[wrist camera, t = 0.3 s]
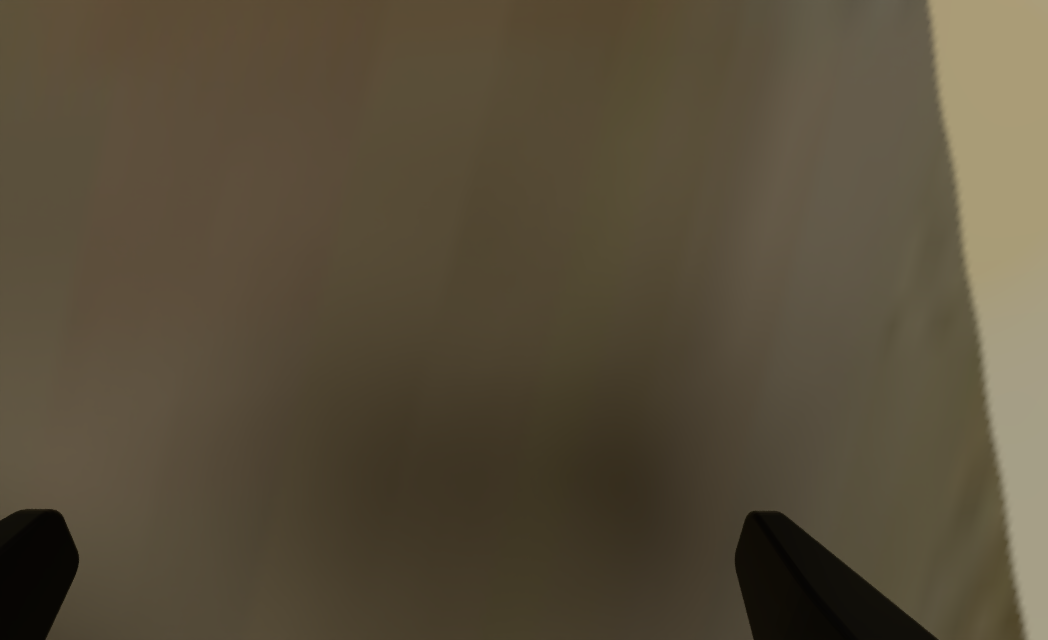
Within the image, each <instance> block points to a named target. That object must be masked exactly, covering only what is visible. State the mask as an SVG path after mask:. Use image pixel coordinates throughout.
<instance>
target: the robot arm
mask: <svg viewBox="0 0 1048 640" xmlns="http://www.w3.org/2000/svg"><path fill="white" fill-rule="evenodd" d="M78 565H79V554H78V550H77V548H76V546H75V543H74V541H73V538H72V536H71V534H70V531H69V529H68V527H67V524H66V522H65V519H64V517H63V516H62V514H61V513H60V512H58V511H57V510H53V509H24V510H20V511H17V512H15V513H13V514H11V515H9V516H7V517H6V518H4V519H2V520H0V640H46V637H47V635H48V633H49V631H50V629H51V627H52V625H53V622H54V620H55V618H56V616H57V614H58V612H59V610H60V607H61V605H62V603H63V601H64V599H65V597H66V594H67V592H68V590H69V588H70V586H71V584H72V582H73V579H74V577H75V575H76V572H77V569H78ZM735 568H736V573H737V577H738V581H739V584H740V588H741V592H742V596H743V600H744V604H745V608H746V612H747V616H748V619H749V623H750V627H751V631H752V635H753V639H754V640H939V639H937V638H936V637H935V636H934V635H932V634H931V633H930V632H929V631H927V630H926V629H925V628H924V627H922V626H921V625H920V624H919V623H918V622H916V621H915V620H914V619H913V618H911V617H910V616H909V615H908V614H906V613H905V612H904V611H903V610H902V609H900V608H899V607H898V606H897V605H895V604H894V603H893V602H892V601H890V600H889V599H888V598H887V597H885V596H884V595H883V594H882V593H881V592H879V591H878V590H877V589H876V588H874V587H873V586H872V585H871V584H869V583H868V582H867V581H866V580H864V579H863V578H862V577H861V576H860V575H858V574H857V573H856V572H855V571H853V570H852V569H851V568H850V567H848V566H847V565H846V564H845V563H844V562H842V561H841V560H840V559H839V558H837V557H836V556H835V555H834V554H832V553H831V552H830V551H829V550H827V549H826V548H825V547H824V546H823V545H821V544H820V543H819V542H818V541H816V540H815V539H814V538H813V537H811V536H810V535H809V534H808V533H806V532H805V531H804V530H803V529H802V528H800V527H799V526H798V525H797V524H795V523H794V522H793V521H792V520H790V519H789V518H788V517H787V516H785V515H784V514H782V513H781V512H778V511H752V512H750V513H749V514H748V515H747V516H746V519H745V522H744V525H743V528H742V532H741V535H740V538H739V542H738V545H737V548H736V552H735Z"/></svg>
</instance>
